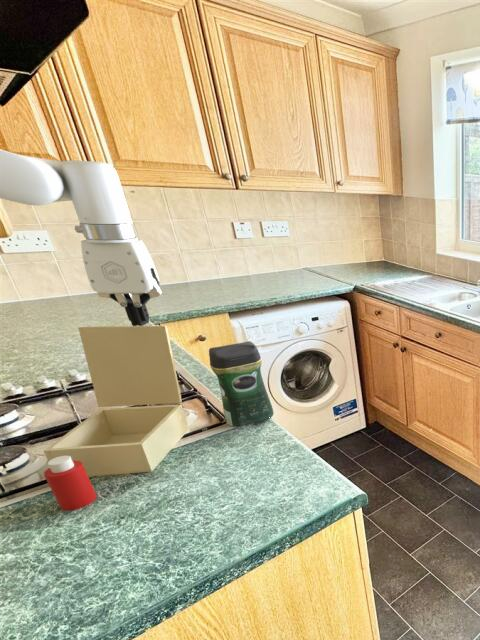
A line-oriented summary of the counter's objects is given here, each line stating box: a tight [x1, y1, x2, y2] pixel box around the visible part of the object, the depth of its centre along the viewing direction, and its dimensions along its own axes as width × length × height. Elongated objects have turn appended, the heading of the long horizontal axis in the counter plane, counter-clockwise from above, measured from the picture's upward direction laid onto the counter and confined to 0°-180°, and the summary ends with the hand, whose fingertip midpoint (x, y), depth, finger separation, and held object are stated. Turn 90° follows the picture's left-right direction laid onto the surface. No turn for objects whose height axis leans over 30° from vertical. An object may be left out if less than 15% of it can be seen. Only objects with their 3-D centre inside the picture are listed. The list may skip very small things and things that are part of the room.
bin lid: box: [77, 325, 183, 408], centre depth 86 cm, size 16×15×1 cm
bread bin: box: [43, 404, 190, 478], centre depth 82 cm, size 16×15×7 cm
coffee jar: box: [208, 340, 275, 428], centre depth 95 cm, size 10×8×19 cm
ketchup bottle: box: [43, 456, 98, 512], centre depth 69 cm, size 4×4×9 cm
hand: (141, 323), depth 89 cm, fingers closed
